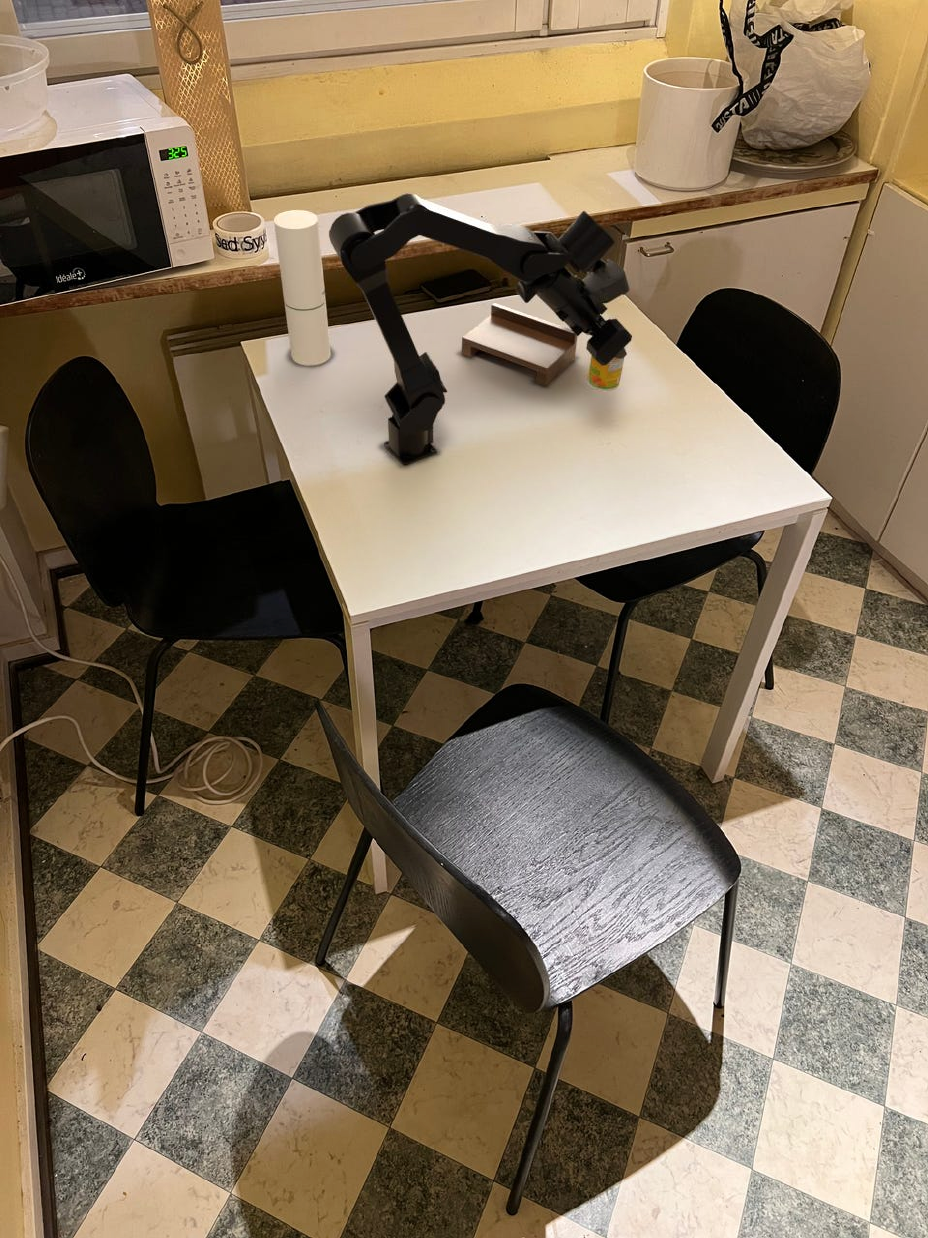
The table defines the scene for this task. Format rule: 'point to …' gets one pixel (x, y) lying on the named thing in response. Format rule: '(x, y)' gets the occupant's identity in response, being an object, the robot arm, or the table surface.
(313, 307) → the cylindrical container
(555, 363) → the shelf
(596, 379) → the supplement bottle
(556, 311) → the robot arm
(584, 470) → the table surface
